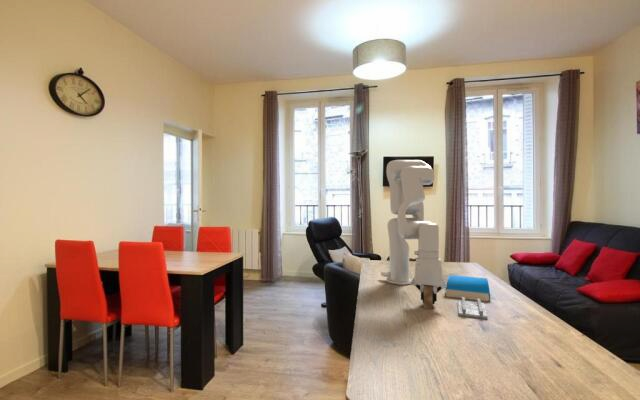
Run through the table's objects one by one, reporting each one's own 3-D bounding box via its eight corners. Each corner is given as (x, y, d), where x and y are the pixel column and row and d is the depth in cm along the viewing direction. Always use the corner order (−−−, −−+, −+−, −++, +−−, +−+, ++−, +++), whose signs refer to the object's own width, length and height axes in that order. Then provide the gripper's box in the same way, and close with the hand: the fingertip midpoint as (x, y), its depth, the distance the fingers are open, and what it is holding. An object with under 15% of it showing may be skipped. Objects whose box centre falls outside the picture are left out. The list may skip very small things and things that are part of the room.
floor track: (487, 319, 108) (487, 312, 108) (458, 315, 112) (458, 308, 112) (483, 305, 122) (483, 299, 122) (458, 302, 126) (458, 296, 126)
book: (445, 287, 134) (448, 274, 157) (445, 298, 134) (449, 282, 157) (491, 292, 127) (488, 277, 149) (491, 303, 127) (488, 286, 149)
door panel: (423, 308, 120) (423, 286, 120) (425, 301, 127) (425, 281, 127) (432, 309, 118) (432, 287, 118) (433, 302, 126) (433, 282, 126)
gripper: (405, 255, 122) (405, 303, 122) (451, 258, 116) (451, 308, 116) (408, 252, 129) (408, 297, 129) (451, 254, 123) (451, 302, 123)
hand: (428, 302), depth 123 cm, fingers closed on door panel, 3 cm apart
